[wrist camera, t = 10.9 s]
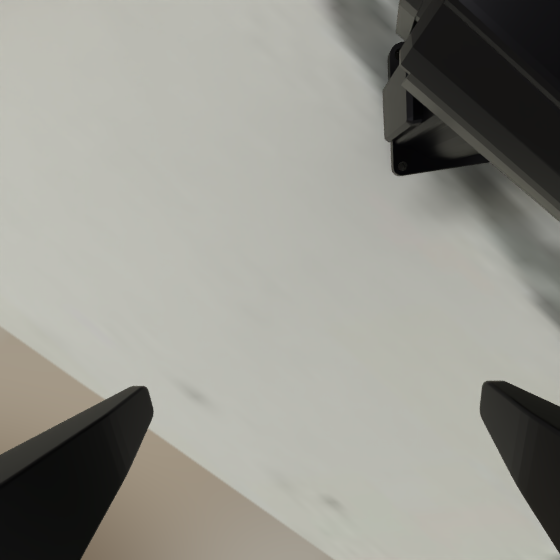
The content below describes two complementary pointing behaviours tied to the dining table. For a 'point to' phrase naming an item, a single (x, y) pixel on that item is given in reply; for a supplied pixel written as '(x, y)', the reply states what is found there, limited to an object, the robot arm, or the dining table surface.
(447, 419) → the dining table surface
